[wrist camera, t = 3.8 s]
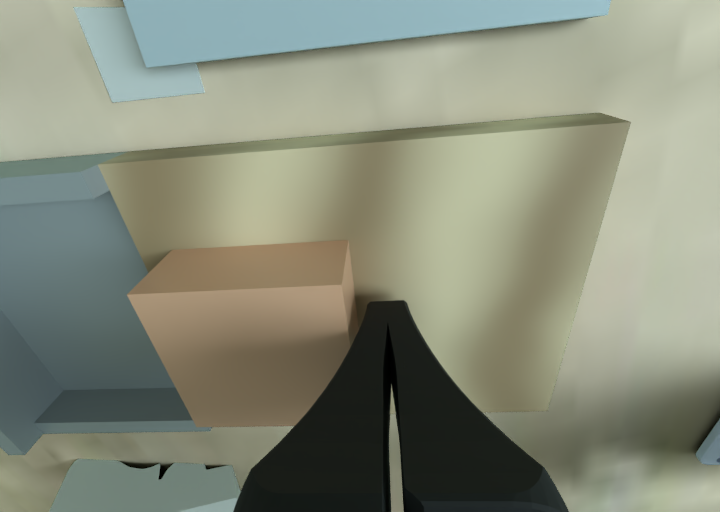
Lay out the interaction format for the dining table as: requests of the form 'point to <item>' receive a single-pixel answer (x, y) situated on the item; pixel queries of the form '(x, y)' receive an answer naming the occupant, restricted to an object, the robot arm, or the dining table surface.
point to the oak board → (411, 227)
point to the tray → (73, 311)
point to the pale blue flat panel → (277, 32)
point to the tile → (250, 327)
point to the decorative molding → (146, 488)
